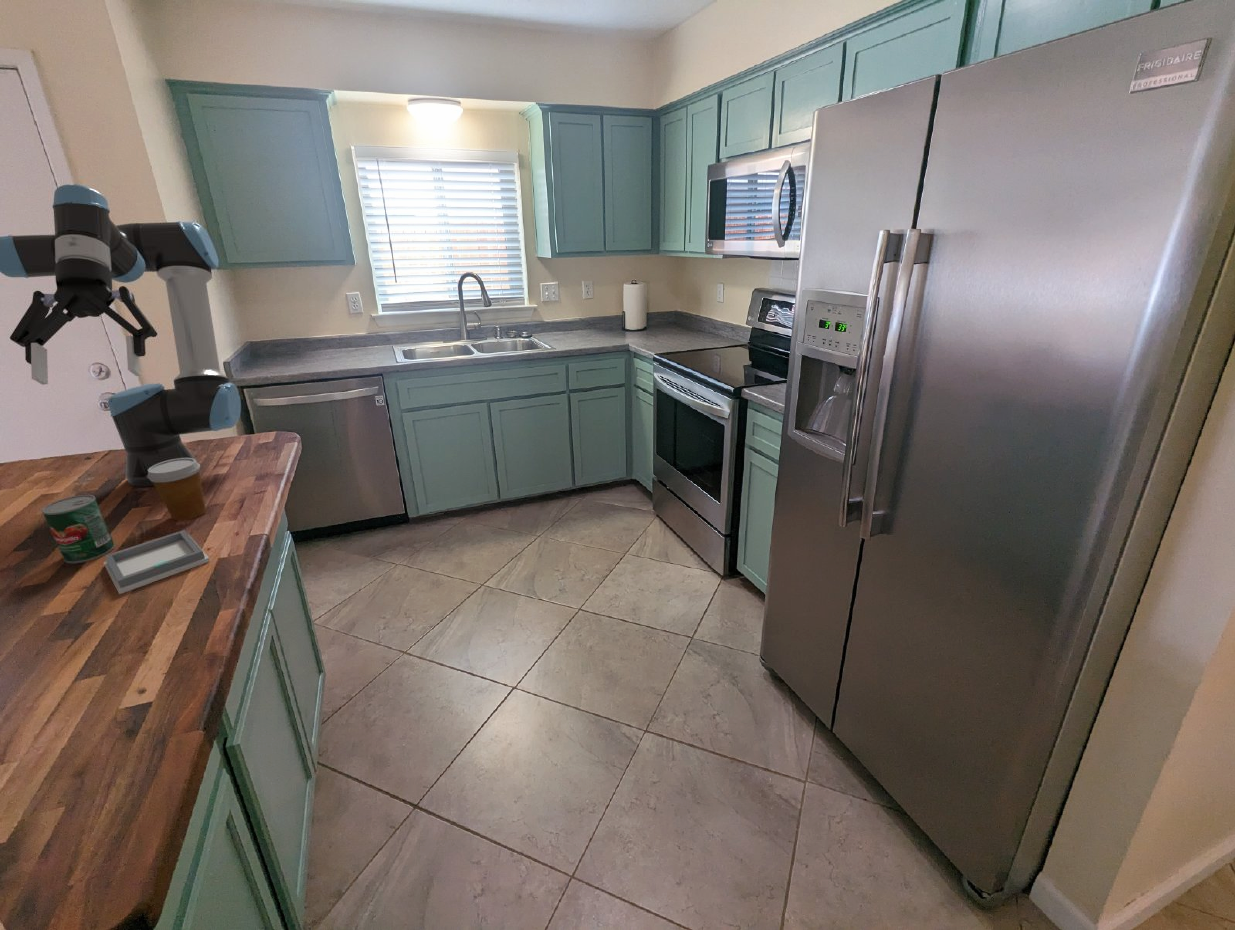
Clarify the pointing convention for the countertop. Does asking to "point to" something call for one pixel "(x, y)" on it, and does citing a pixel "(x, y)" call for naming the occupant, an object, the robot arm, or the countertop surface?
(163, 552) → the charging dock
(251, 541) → the countertop surface
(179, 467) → the disposable coffee cup
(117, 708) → the countertop surface
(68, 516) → the canned tomato
